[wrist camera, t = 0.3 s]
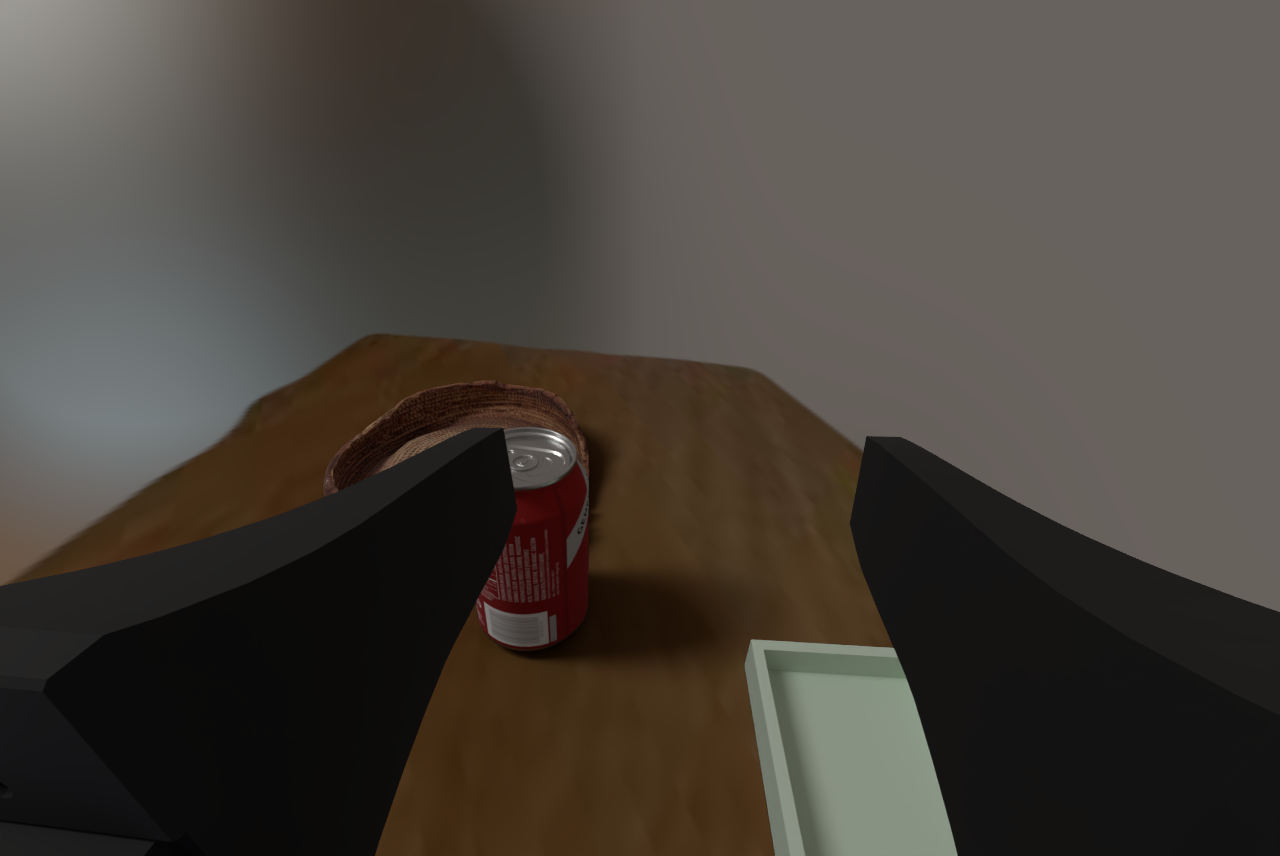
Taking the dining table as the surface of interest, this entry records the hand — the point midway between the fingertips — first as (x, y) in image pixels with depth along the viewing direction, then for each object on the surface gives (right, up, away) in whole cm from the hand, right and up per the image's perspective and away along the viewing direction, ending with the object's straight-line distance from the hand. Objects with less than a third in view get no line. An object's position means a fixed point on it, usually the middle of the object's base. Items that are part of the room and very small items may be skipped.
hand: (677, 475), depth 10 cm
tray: (+10, -16, +14) cm, 24 cm away
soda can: (-7, -11, +22) cm, 26 cm away
